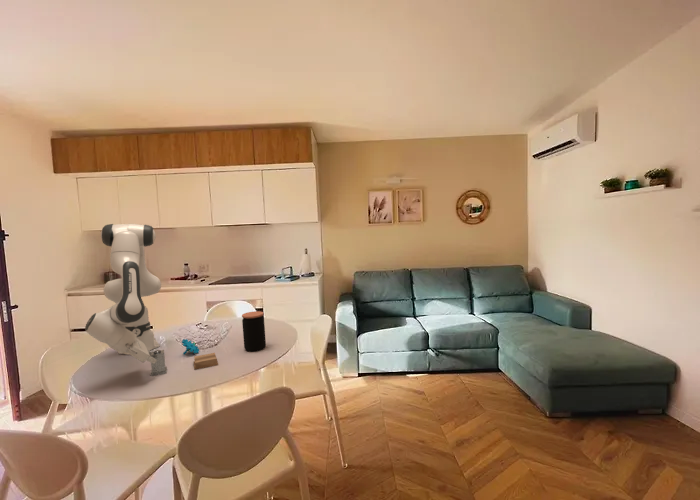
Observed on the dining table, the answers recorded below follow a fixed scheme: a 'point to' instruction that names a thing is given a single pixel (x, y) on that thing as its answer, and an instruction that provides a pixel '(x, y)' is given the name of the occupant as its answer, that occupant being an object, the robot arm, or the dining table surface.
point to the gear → (190, 346)
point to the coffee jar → (253, 331)
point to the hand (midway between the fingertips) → (154, 358)
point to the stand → (205, 361)
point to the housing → (158, 363)
